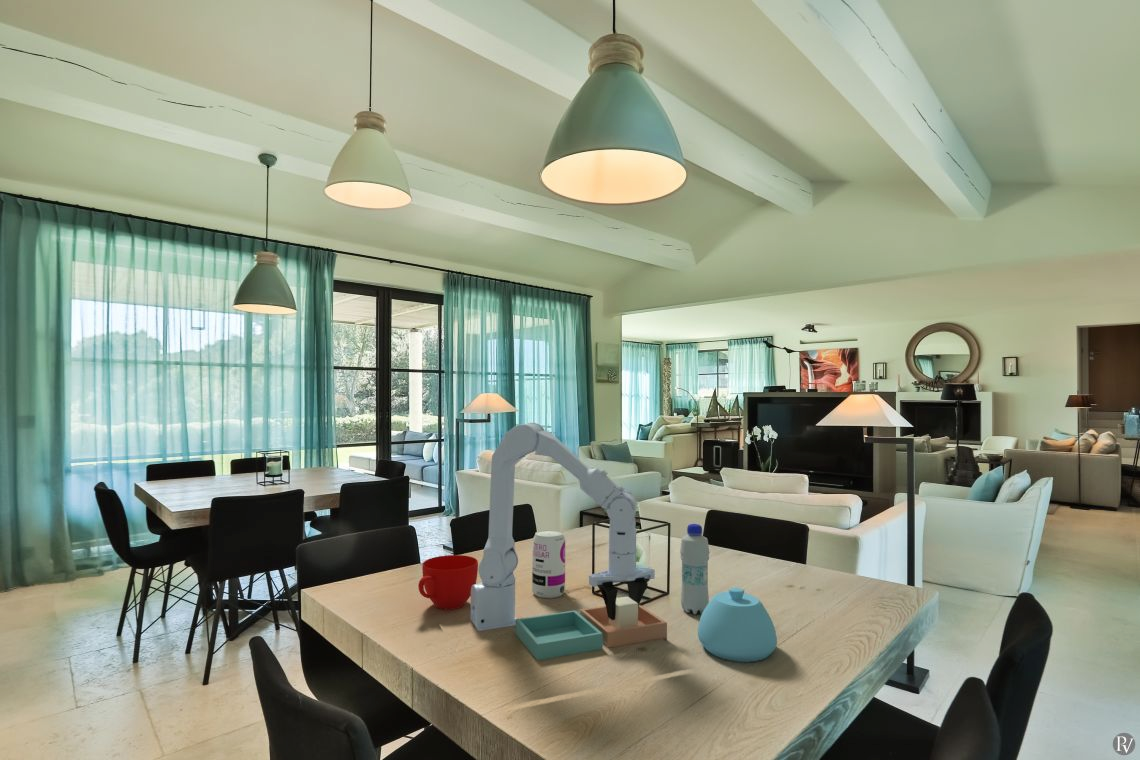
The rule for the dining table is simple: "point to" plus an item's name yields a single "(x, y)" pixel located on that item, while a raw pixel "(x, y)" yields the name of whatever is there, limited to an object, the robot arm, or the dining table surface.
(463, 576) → the ceramic cup
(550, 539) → the supplement can
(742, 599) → the sugar bowl
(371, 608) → the dining table surface
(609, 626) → the bin
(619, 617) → the cube
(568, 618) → the bin
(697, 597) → the bottle
